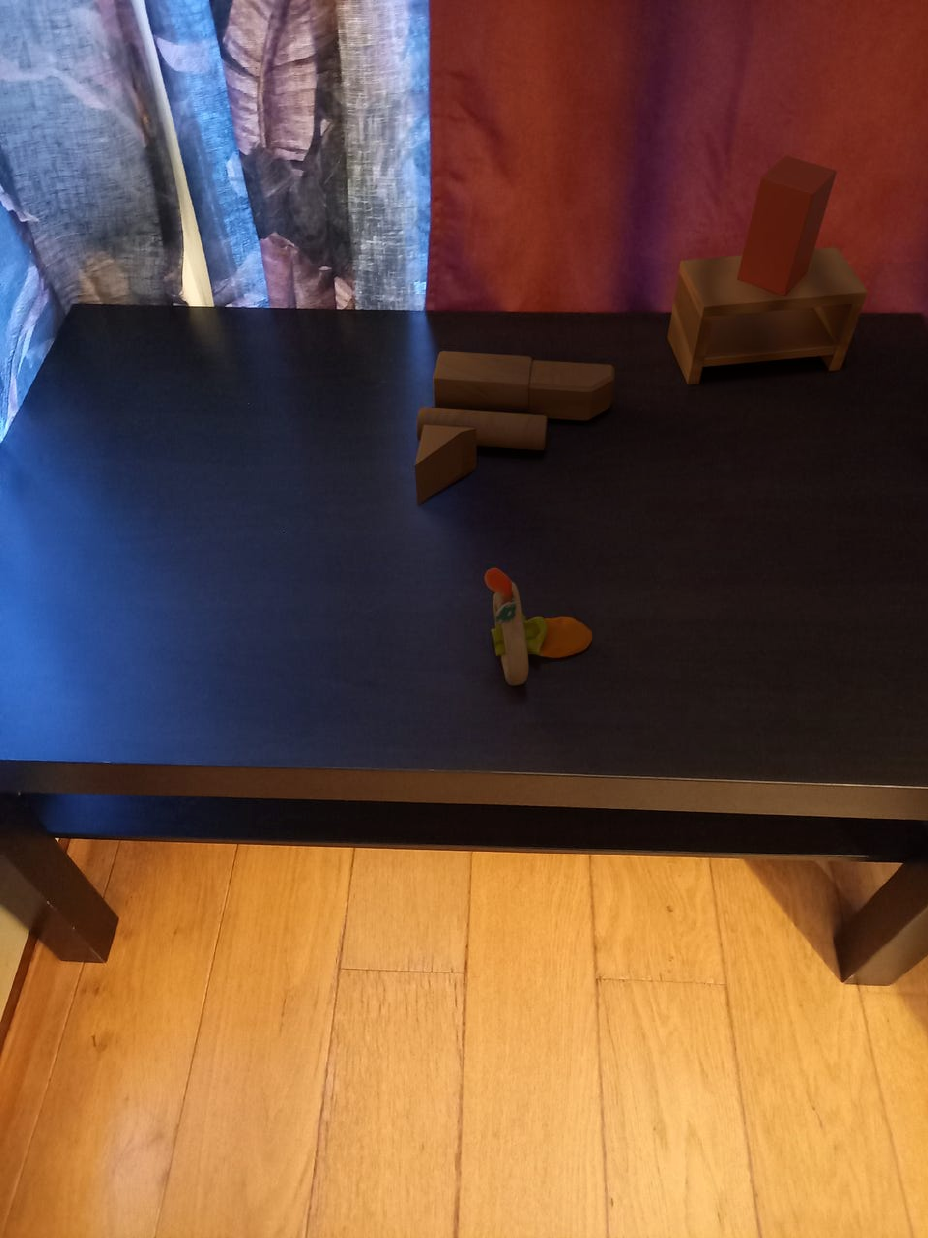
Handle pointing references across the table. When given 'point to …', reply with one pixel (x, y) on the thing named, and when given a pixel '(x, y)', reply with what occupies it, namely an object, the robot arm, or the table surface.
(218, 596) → the table surface
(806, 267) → the block
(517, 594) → the rattle
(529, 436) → the wooden block set
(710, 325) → the shelf
